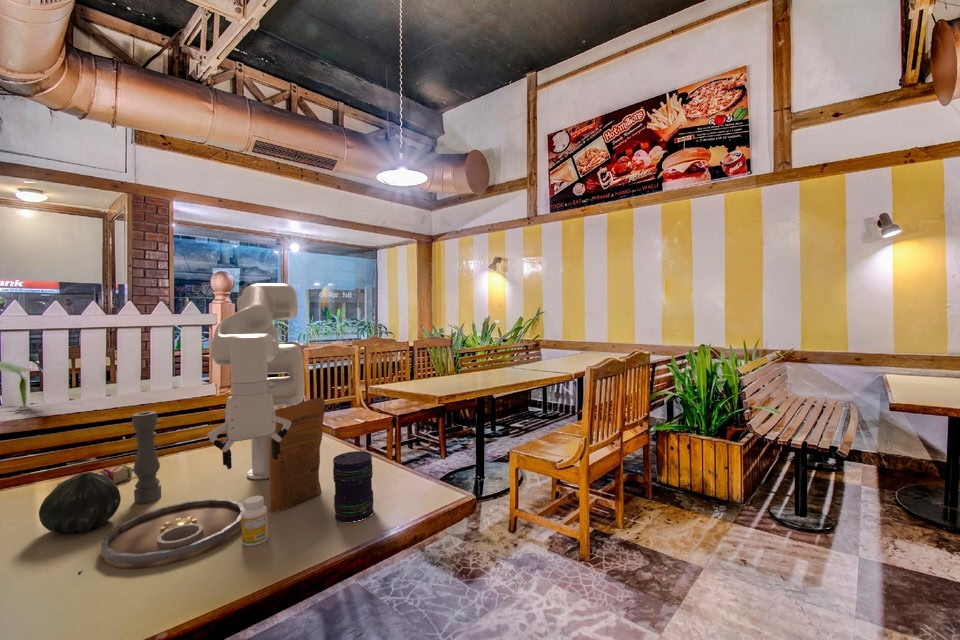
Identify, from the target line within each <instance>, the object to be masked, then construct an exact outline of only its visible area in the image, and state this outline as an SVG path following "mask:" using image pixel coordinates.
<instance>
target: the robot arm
mask: <svg viewBox="0 0 960 640" xmlns="http://www.w3.org/2000/svg"><path fill="white" fill-rule="evenodd" d="M236 308H237V312H234V313H233V314H231V315H229V316H228V317H226V318H224V319H223V320H221V321H220V322H219V323H218V325H217V326H216V328H215V330H214V333H213V338H212V342H211V350H210V351H211V357H212V360H213V361H214V363H216V364H217V365H219V366H224V367H225V366H227V367H228V366H230V387H231V388H230V389H231V390H230V391H231V395H229V396H227V400H226V404H225V418H224V423H222V424H221V425H219V426H217V427H216V428H214V429H213V430H211V431H209V432H208V433H207V437H208V438H209V440H210V442H211V443H212V444H213V446H215V447H216V448H218V449H219V450H220V451H222V465H223V466H226V468H227V470H231V469H232V464H233V463H232V451H231V447H232V446H233V444H234V443H236V442H242V441H249V440H250V442H251V444H250V445H251V466H252V468H250V469H249V470H248V471H247V473H246V477H247V478H248V479H250V480H267V479H268V478H269V468H268V441H269V436H271V437H272V438H273V440H272V441H271V445H272V457H273V458H274V459H275V460H276V459H278V454H280V441H281V440H282V438H283V437H284V436H285V435H286V434H287V432H288V429H289V427H290V425H291V421H290V420H288V419H285V418H281V417H278V416H275V410H276V409H275V407H278V406H279V407H280V406H289V405H290V406H292V405H296V404H299V403H301V402H303V400H304V398H305V374H304V373H305V370H304V355H303V351H302V349H301V347H300V346H299V345H298V344H294V343H290V344H289V343H288V344H279V336H278V334H279V332H278V329H277V327H276V325H275V324H274V323H273V321H280V320H281V321H284V320H285V321H286V320H289V321H290V320H293V319H295V318H296V317H297V315H298V312H299V311H298V310H299V309H298V308H299V305H298V295H297V293H296V291H295V289H294V287H293V286H292V285H290V284H287V283H253V284H250V285H247V286H246V287H245V288H244V289H243V291H242V293H241V295H240V296H239V297H238V298H237V299H236ZM274 374H275V375H277V374H288V375H289V376H274V377H268V375H274ZM276 422H278V423H281V424H283V427H282V429H281V430H280V431H279V432H278V433H277V434H276V433H275V432H276ZM223 432H225V436H226V439H225V440H224V441H221V440H219V439H218V435H219V434H221V433H223ZM268 480H269V479H268Z"/></svg>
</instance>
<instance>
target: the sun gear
mask: <svg viewBox="0 0 960 640" xmlns="http://www.w3.org/2000/svg"><path fill="white" fill-rule="evenodd" d="M195 523H196V524H197V519H192V517H187V518H183V519H180V518H177V519H176V520H174V521H172V522H166V523H165V524H164V527H161V528H160V534H161V533H162V532H164V531H166V530H169V529H171V528H174V527H177V526H180V525H184V524H195Z"/></svg>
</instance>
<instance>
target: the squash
mask: <svg viewBox="0 0 960 640" xmlns="http://www.w3.org/2000/svg"><path fill="white" fill-rule="evenodd" d="M60 483H61V484H59V485H58V486H57V485H56V486H55V487H54V488H53V489H52V491H51V492H49V494H48V495H47V496H46V497H45V498H44V499H43V501H42V503H41V505H40V507H39V510H38V517H39V521H40V523H41V525H42V526H43V527H44V528H45V529H46V530H48V531H50V532H54V533H56V534H61V533H62V534H63V533H73V532H75V531H77V532H78V533H86V532H89V530H90V529H97V528H99V527H101V526H103V525H104V524H105V523H106V522H107V521H108V520H110V519H111V518H112V517H114V515H115V513H116V512H117V510H118V509H119V507H120V504H121V502H122V501H121V500H122V499H121V498H122V497H121V493H120V490H119V488H118V486H117V485H116V483H115V484H114V482H113V481H112V480H111V479H109V478H108V477H106V476H103V475H100V474H97V473H96V472H92V471H85V472H82V473H79V474H76V475H74V476H72V477H69V478H67V479H66V480H63V481H62V482H60Z"/></svg>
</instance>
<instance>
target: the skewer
mask: <svg viewBox="0 0 960 640" xmlns="http://www.w3.org/2000/svg"><path fill="white" fill-rule="evenodd" d="M95 473H97V474H100V475H103V476H106V477H108V478H109V479H111V480H112V481H113V482H114V484H115V485H116V484H118V483H122V482H124V481H126V480H128V479H129V480H130V479H132V478H133V477H132V476H133V473H134V471H133V468H132V467H131V466H128V465H126V464H125V465H118V466H113V467H110V468H104V469H103V468H102V470H99V472H98V471H97V472H95ZM61 483H62V482H60V483H59V482H58V483H57V485H56V487H57V486H58V485H59V484H61Z"/></svg>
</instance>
